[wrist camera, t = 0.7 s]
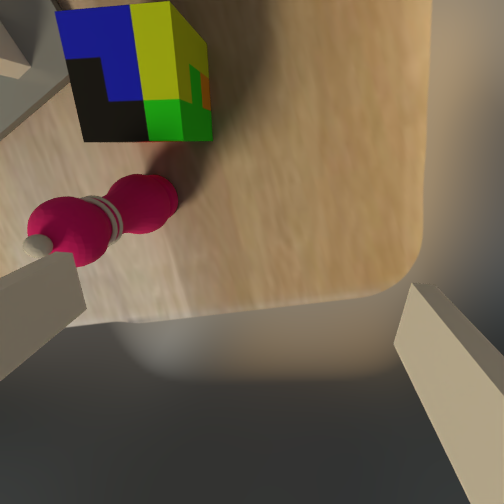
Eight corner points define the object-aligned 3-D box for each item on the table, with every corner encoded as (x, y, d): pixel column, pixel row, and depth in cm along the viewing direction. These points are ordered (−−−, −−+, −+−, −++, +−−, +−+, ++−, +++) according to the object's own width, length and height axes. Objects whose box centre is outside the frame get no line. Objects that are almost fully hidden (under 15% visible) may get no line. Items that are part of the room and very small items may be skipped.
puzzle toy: (123, 49, 32) (54, 11, 22) (207, 44, 30) (169, 1, 21) (138, 142, 35) (83, 142, 26) (213, 141, 34) (183, 140, 25)
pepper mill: (171, 231, 39) (65, 310, 21) (126, 207, 39) (-23, 266, 20) (189, 186, 36) (84, 232, 18) (140, 160, 36) (-17, 179, 18)
